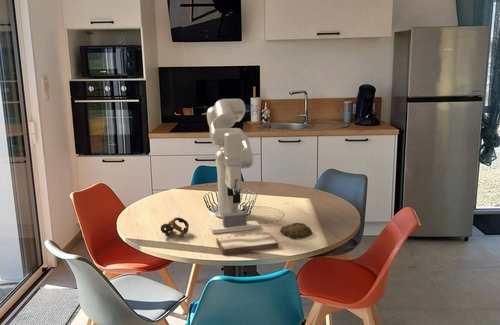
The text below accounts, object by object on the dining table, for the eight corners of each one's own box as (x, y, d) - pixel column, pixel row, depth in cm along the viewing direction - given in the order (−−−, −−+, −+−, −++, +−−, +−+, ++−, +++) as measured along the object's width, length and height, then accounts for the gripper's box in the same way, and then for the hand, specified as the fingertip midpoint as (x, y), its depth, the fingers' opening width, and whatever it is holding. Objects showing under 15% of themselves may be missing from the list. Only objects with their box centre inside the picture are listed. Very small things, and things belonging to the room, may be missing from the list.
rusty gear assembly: (177, 229, 207) (184, 215, 204) (186, 245, 201) (194, 230, 198) (153, 229, 199) (161, 214, 196) (162, 245, 193) (170, 230, 190)
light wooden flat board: (216, 243, 191) (216, 237, 190) (268, 237, 196) (268, 231, 196) (223, 254, 179) (223, 249, 179) (278, 248, 185) (278, 242, 185)
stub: (209, 228, 206) (209, 214, 205) (255, 223, 212) (255, 209, 210) (212, 233, 201) (211, 218, 199) (259, 228, 206) (259, 214, 205)
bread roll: (292, 241, 193) (292, 230, 192) (276, 231, 203) (276, 220, 202) (318, 235, 199) (318, 224, 197) (301, 226, 209) (301, 215, 208)
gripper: (220, 156, 207) (220, 193, 211) (229, 166, 191) (230, 207, 195) (237, 155, 209) (237, 192, 213) (247, 165, 193) (247, 205, 197)
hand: (233, 199), depth 204 cm, fingers open, 9 cm apart
